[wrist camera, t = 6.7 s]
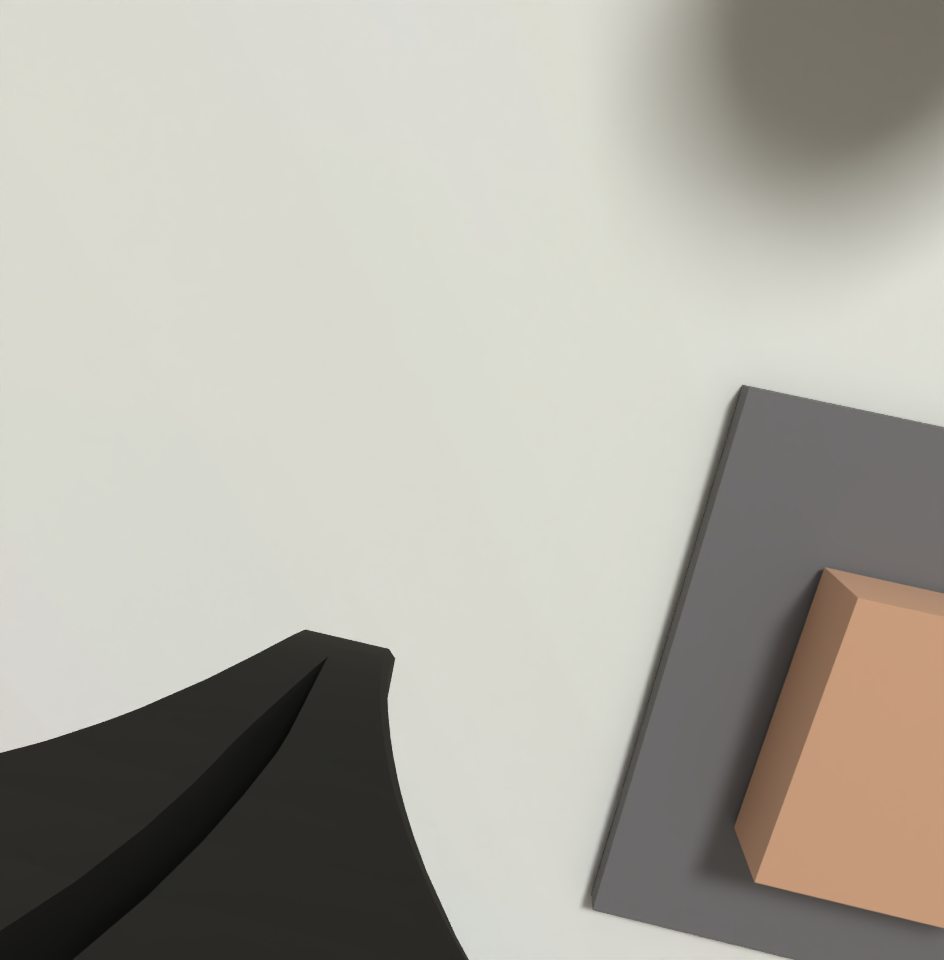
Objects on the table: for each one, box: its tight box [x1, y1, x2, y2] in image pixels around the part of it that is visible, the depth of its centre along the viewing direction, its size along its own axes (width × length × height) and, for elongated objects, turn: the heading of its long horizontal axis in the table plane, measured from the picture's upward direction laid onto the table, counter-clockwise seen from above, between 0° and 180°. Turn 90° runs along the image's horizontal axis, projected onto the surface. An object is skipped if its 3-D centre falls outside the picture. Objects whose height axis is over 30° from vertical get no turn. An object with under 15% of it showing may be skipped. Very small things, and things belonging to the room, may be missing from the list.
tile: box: [734, 567, 944, 928], centre depth 18 cm, size 8×2×7 cm
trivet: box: [592, 385, 944, 960], centre depth 19 cm, size 16×15×1 cm
